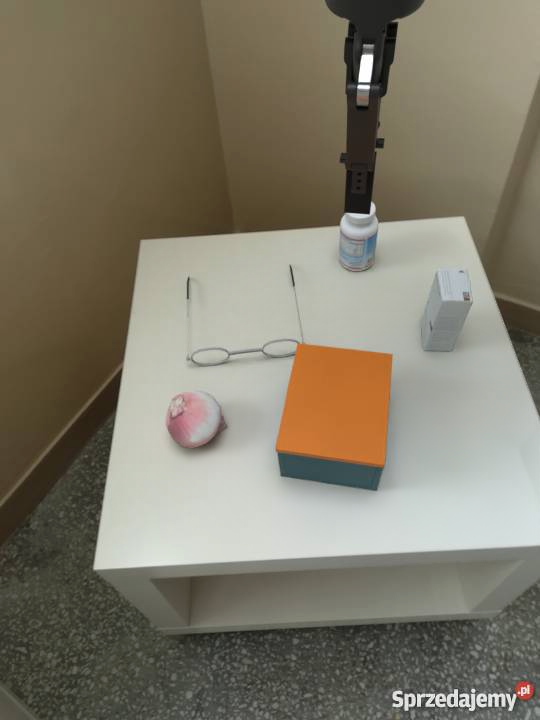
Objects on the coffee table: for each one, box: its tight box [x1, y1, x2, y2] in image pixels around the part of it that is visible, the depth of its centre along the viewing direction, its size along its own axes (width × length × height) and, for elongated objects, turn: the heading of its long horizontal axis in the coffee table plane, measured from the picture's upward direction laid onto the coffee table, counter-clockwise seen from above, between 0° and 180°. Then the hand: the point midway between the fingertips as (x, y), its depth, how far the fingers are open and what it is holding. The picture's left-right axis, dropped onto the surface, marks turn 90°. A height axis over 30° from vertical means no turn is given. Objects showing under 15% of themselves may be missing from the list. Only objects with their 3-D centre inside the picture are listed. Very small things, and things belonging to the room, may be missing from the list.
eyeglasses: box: [185, 264, 306, 367], centre depth 84 cm, size 18×19×4 cm
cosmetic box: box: [420, 267, 474, 352], centre depth 76 cm, size 6×4×12 cm
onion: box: [165, 389, 228, 449], centre depth 72 cm, size 8×8×7 cm
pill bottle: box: [338, 201, 379, 272], centre depth 86 cm, size 6×6×11 cm
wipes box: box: [276, 452, 384, 492], centre depth 70 cm, size 16×13×8 cm
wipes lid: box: [274, 342, 393, 469], centre depth 66 cm, size 16×13×1 cm
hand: (357, 208), depth 56 cm, fingers closed
